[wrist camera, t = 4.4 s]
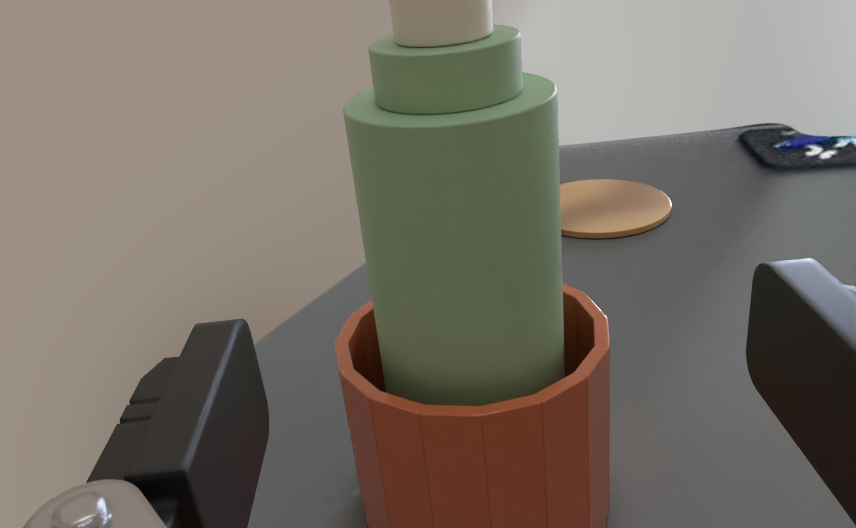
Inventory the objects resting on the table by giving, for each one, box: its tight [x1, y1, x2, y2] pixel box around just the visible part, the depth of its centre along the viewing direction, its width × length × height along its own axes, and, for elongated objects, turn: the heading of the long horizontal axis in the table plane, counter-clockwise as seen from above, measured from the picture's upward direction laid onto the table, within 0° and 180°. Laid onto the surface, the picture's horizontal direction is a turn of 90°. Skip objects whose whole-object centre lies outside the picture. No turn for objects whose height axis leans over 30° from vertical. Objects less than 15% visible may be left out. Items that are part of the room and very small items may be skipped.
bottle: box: [343, 0, 565, 406], centre depth 23 cm, size 6×6×20 cm
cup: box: [334, 283, 610, 528], centre depth 25 cm, size 8×8×7 cm
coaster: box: [560, 179, 672, 238], centre depth 49 cm, size 9×9×1 cm
